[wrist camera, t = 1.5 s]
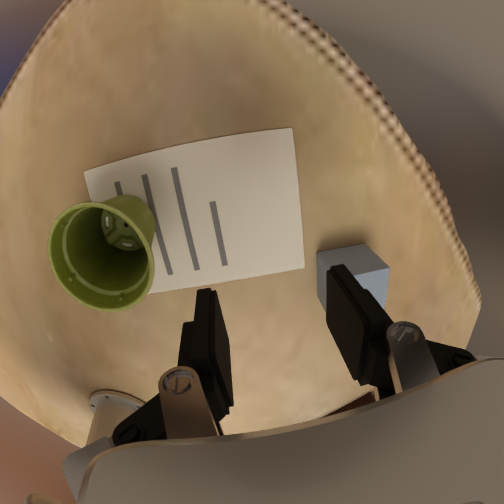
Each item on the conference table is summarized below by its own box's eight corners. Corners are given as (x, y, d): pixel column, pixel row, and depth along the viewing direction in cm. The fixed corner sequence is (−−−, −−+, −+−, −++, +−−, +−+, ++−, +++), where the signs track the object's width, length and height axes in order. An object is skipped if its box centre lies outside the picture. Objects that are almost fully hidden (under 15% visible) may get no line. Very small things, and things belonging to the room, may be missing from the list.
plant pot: (172, 267, 29) (158, 317, 21) (93, 262, 28) (60, 307, 20) (172, 179, 25) (151, 203, 18) (85, 179, 24) (39, 203, 16)
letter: (304, 266, 31) (304, 268, 31) (124, 296, 30) (124, 297, 30) (291, 127, 25) (292, 127, 24) (84, 171, 24) (83, 171, 24)
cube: (361, 286, 34) (383, 314, 28) (317, 296, 33) (333, 327, 28) (364, 243, 31) (389, 267, 26) (316, 252, 31) (335, 279, 25)
